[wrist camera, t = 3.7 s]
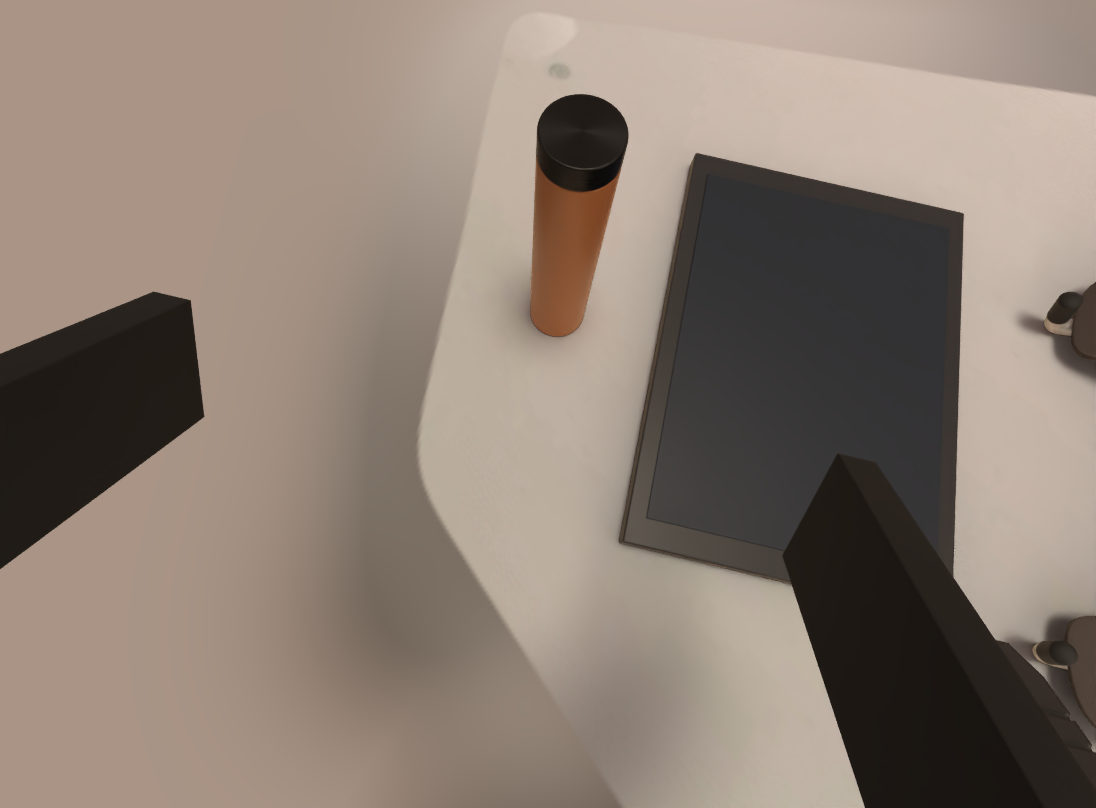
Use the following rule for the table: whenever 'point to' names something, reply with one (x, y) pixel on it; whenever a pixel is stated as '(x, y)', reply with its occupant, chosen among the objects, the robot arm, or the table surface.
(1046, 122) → the table surface
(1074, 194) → the table surface
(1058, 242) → the table surface
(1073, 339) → the laptop tray
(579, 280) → the copper cylinder
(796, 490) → the tablet
